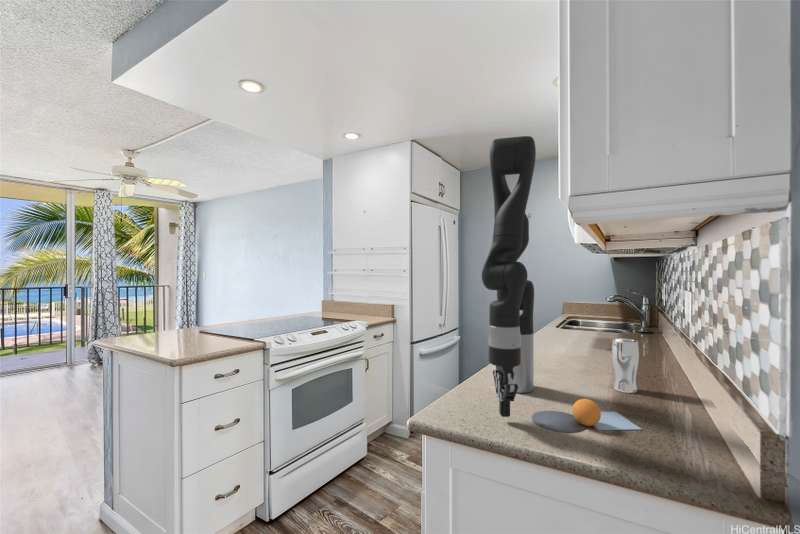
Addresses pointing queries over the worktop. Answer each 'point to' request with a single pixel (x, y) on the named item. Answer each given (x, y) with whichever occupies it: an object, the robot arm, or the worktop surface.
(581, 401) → the ball
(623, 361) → the beer glass
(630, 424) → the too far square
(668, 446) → the worktop surface
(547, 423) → the disc
